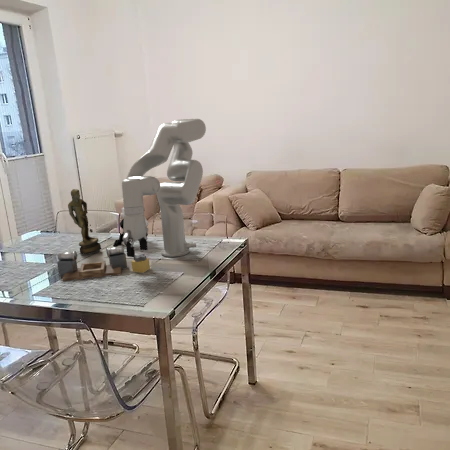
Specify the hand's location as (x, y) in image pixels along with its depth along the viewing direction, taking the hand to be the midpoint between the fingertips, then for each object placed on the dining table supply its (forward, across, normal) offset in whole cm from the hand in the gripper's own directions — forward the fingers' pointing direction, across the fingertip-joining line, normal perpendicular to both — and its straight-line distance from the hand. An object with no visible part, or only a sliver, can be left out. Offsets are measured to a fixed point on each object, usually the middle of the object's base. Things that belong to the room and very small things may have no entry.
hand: (137, 253), depth 186 cm
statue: (+7, -18, -36) cm, 41 cm away
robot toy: (+6, -37, -25) cm, 45 cm away
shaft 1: (+8, +8, -27) cm, 29 cm away
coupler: (+7, -1, 0) cm, 8 cm away
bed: (+8, +6, -18) cm, 20 cm away
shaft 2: (+7, -1, -11) cm, 13 cm away
